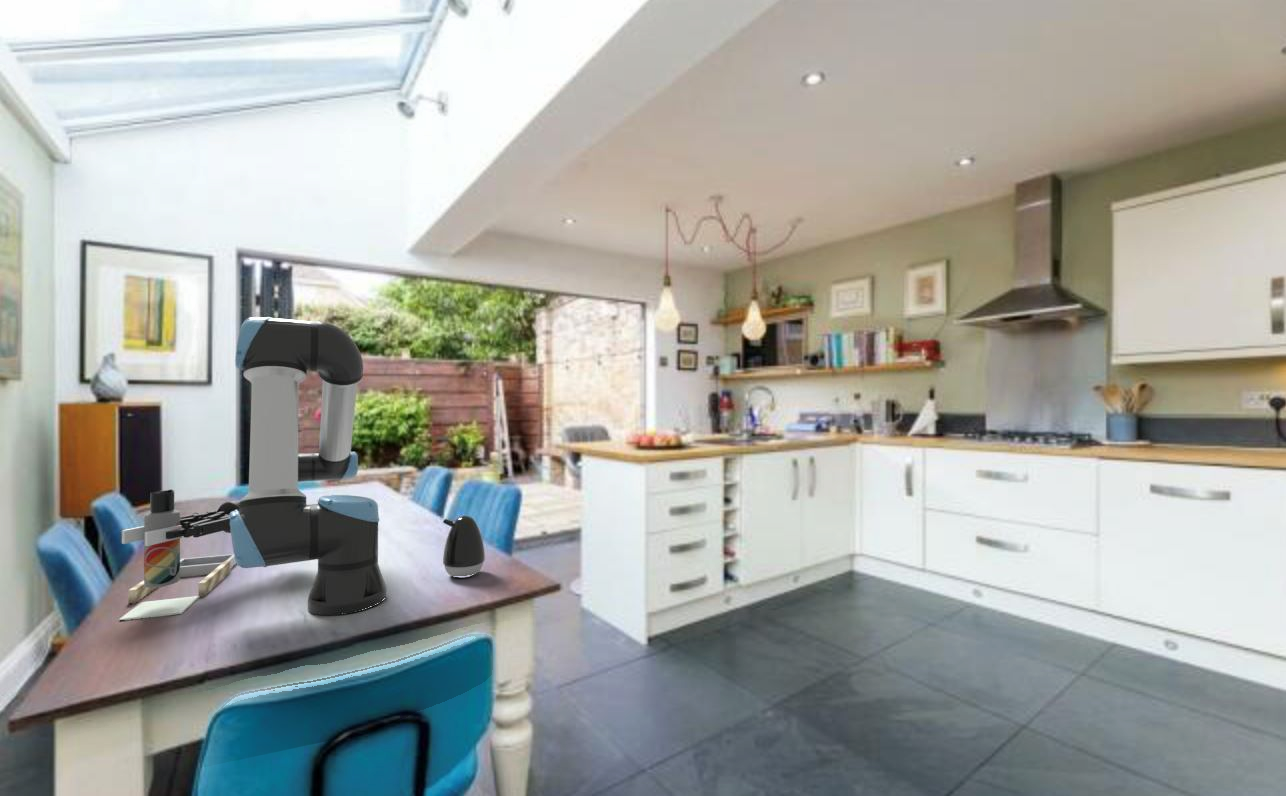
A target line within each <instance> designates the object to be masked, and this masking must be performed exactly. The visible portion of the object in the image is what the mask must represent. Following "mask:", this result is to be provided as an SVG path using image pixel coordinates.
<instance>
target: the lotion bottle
mask: <svg viewBox="0 0 1286 796" xmlns="http://www.w3.org/2000/svg"><path fill="white" fill-rule="evenodd" d="M149 500H150V503H149V504H150V507H149V512H148V513H145V514H144V517H143V518H144V520H143V526H144V540H143V580H144V585H145V587H148V588H155V587H157V588H160V587H161V588H163V587H166V586H167V587H168V586H170V585H174V584H176V583H178V582H179V581H180V579H181V577H180V560H181V538H180V539H175V540H171V541H167V542H163V543H158V544H154V545H150V546H145V532H149V531H154V530H159V529H163V528H168V527H173V526H177V525H180V517H181V511H180V510H178V509H177V510H176V509H175V489H164V490H160V491H156V492H150V499H149Z"/></svg>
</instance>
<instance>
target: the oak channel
mask: <svg viewBox="0 0 1286 796" xmlns="http://www.w3.org/2000/svg"><path fill="white" fill-rule="evenodd" d="M230 573H231V569H230V561H224V562H223V563H222V564H221V565H219V566H218V567H217V568H216V569H215V570H214V571H212V572H211V573H210V574H208V575H205V577H204V578H203V579H202V580H200V581H199V582H198V595H197V596H200V597H205V596H206V595H207V594H209V592H211V591H212V590H213V589H214V588H215V587H216V586H217V585H218V584H219V583H221V581H223V580H224V579H225V578H226V577H227V576H228V575H229V574H230ZM157 588H158V587H155V588H148V587H145V585H144V579H143V580H142V581H140V582H138V583H137V584H135V585H134V586H133V587H131V588H130V589H128V596H127V597H128V599H127V600H128V603H133V604H136V602H137V601H138V602H139V601H141V600H143V599H144V598H145V597H147V596H148V595H149V594H150V593H152V592H153V591H155V590H156V589H157ZM154 589H155V590H154ZM151 591H152V592H151ZM147 594H148V595H147ZM144 596H145V597H144ZM143 597H144V598H143ZM140 599H141V600H140ZM138 602H137V603H138Z"/></svg>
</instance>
